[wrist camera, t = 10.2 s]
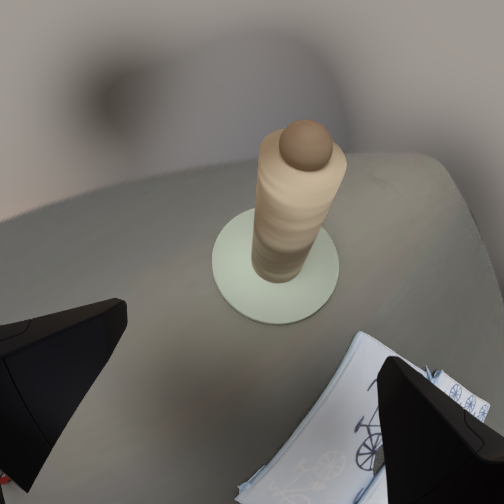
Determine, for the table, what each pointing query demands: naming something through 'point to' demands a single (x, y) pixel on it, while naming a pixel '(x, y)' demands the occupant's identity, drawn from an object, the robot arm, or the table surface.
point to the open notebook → (342, 437)
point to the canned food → (4, 479)
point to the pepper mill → (293, 196)
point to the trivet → (266, 293)
